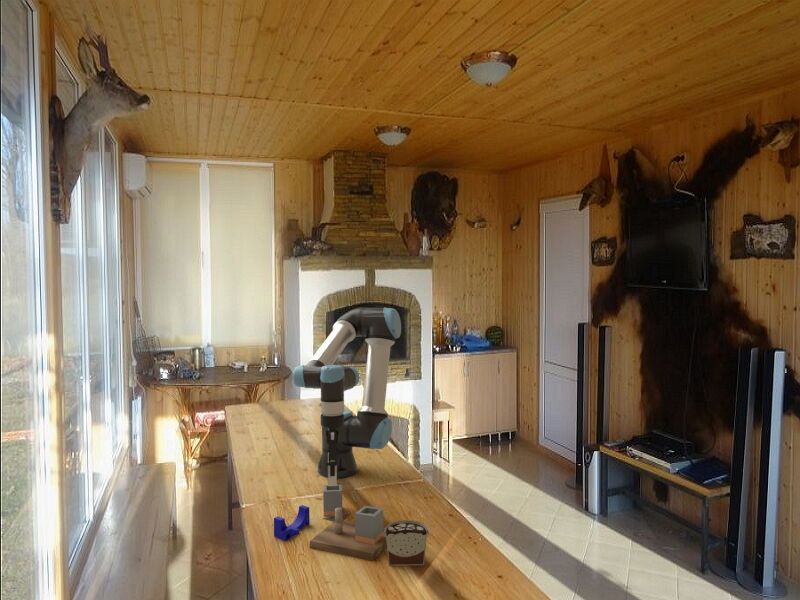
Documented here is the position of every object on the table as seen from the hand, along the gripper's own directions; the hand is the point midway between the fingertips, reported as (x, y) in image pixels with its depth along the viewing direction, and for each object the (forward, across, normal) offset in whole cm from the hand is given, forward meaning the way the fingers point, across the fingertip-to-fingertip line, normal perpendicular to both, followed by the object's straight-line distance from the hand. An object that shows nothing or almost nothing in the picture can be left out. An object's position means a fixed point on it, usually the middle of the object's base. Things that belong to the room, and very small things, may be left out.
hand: (332, 478), depth 194 cm
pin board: (+12, +21, +6) cm, 25 cm away
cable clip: (+12, +12, -12) cm, 21 cm away
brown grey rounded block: (+12, +34, +20) cm, 41 cm away
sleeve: (+11, -1, 0) cm, 11 cm away
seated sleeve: (+10, +24, +10) cm, 28 cm away
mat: (+12, -1, 0) cm, 12 cm away
